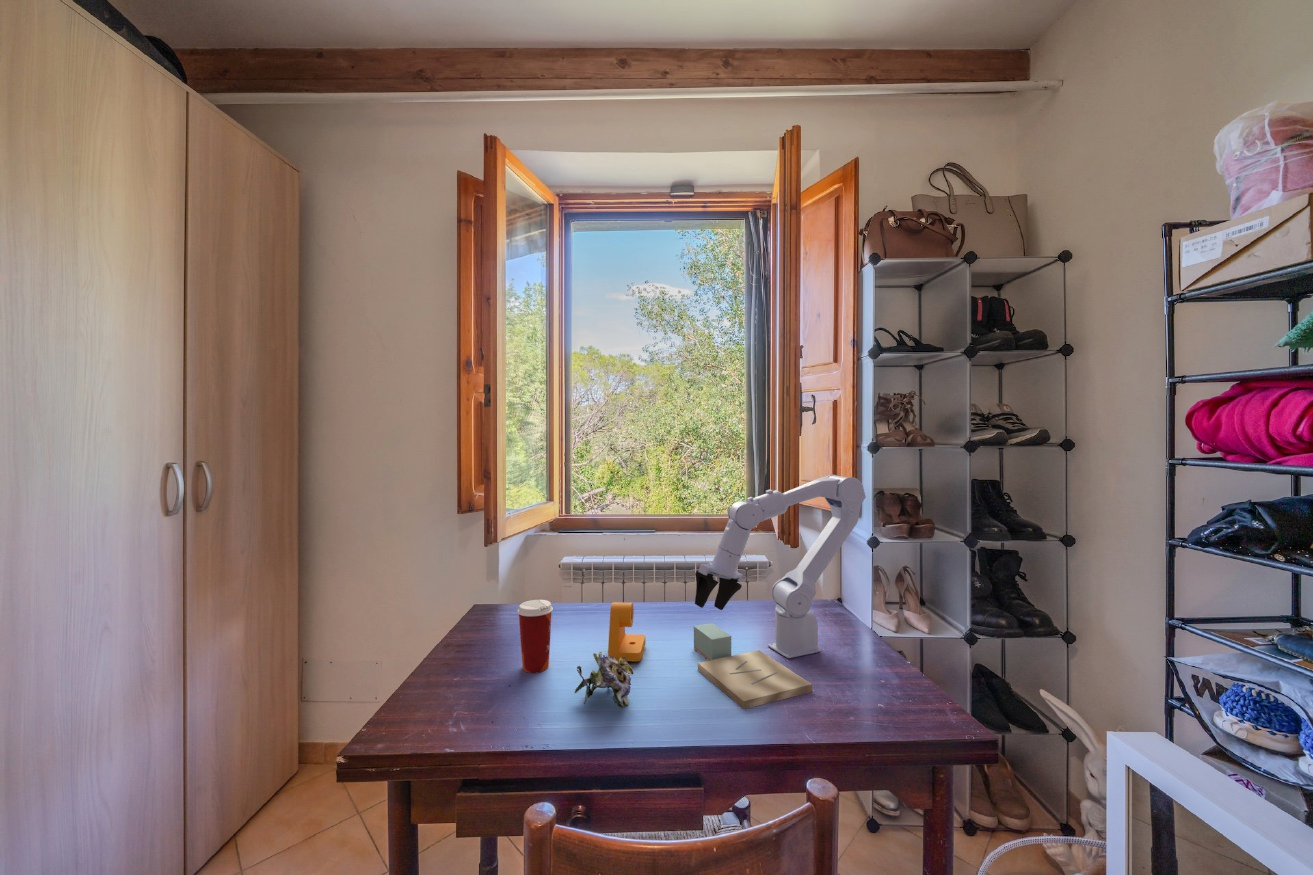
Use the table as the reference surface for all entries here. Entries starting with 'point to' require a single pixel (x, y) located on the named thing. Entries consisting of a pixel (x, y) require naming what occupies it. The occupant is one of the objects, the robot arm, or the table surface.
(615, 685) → the passion flower
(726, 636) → the block
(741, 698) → the birch board
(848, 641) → the table surface
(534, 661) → the paper cup
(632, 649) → the bracket
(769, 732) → the table surface
